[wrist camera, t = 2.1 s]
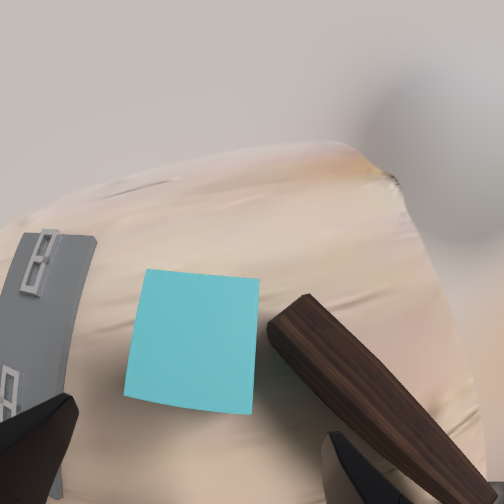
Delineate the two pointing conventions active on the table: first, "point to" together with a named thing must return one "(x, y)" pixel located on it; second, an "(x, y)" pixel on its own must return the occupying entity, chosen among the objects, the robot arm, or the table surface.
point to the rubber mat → (43, 320)
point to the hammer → (376, 403)
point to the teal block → (194, 342)
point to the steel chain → (3, 404)
